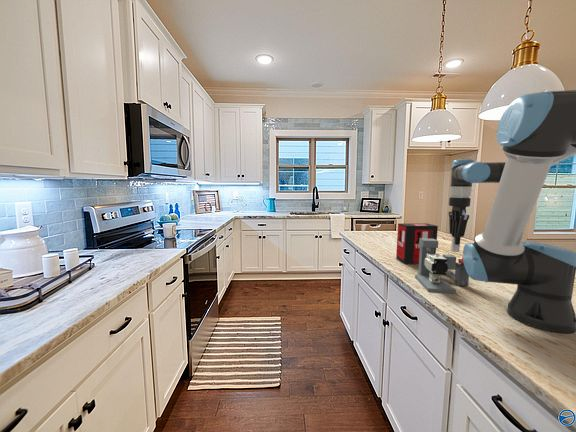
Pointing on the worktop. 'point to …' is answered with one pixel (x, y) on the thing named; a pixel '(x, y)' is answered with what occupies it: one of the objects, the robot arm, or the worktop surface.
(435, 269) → the pneumatic valve
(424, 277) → the press
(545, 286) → the robot arm
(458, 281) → the lever
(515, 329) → the worktop surface
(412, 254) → the cleaning product box
